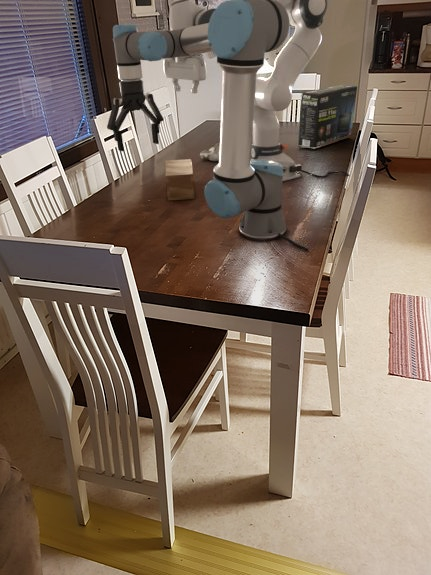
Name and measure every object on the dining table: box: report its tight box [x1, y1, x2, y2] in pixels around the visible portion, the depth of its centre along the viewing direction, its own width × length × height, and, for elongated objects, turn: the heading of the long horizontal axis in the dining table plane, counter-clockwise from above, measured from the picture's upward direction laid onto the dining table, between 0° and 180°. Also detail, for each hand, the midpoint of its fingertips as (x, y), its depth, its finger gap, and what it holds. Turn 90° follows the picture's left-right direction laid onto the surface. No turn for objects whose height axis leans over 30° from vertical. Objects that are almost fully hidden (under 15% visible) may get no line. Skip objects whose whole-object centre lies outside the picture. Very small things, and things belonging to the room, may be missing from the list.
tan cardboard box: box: [165, 158, 196, 201], centre depth 185 cm, size 21×10×10 cm, turn 5°
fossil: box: [199, 142, 220, 162], centre depth 226 cm, size 18×11×15 cm
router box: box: [297, 84, 358, 151], centre depth 238 cm, size 36×11×27 cm, turn 134°
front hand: (138, 147), depth 158 cm, fingers open, 13 cm apart
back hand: (186, 92), depth 175 cm, fingers open, 8 cm apart
